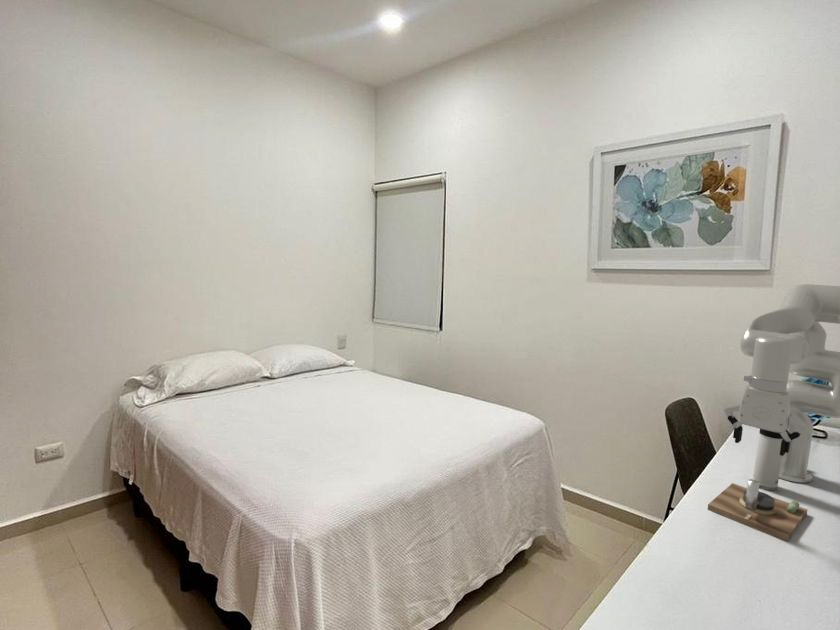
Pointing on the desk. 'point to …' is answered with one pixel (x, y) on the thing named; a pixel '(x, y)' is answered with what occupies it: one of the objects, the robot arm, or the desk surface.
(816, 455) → the desk surface
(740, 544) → the desk surface
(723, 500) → the base
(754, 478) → the travel mug
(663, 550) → the desk surface
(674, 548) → the desk surface
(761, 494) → the grey rounded piece
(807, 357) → the robot arm
